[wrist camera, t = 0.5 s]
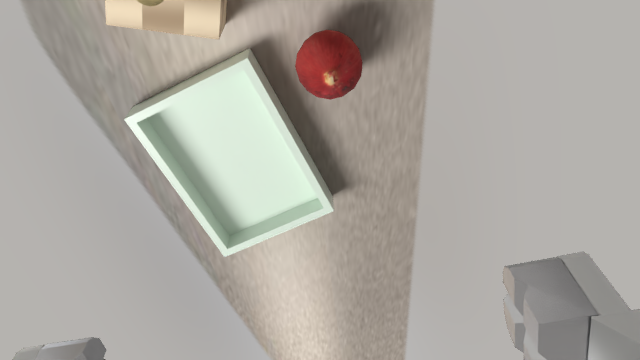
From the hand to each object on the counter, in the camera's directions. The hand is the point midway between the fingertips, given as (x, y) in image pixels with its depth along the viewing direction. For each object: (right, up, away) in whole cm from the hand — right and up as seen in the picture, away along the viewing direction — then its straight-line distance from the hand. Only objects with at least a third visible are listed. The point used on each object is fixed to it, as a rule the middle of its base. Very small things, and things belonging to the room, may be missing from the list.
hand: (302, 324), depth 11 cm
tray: (-8, +6, +45) cm, 46 cm away
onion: (+1, +15, +40) cm, 43 cm away
